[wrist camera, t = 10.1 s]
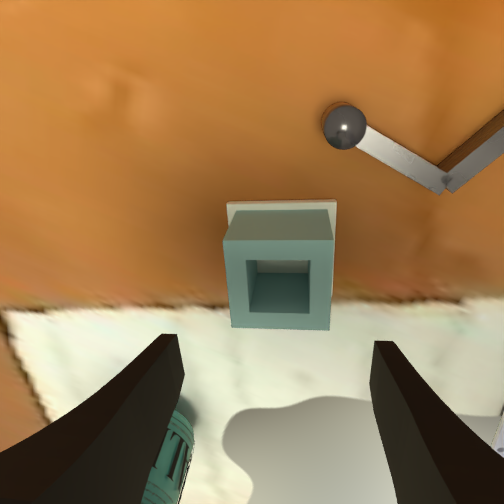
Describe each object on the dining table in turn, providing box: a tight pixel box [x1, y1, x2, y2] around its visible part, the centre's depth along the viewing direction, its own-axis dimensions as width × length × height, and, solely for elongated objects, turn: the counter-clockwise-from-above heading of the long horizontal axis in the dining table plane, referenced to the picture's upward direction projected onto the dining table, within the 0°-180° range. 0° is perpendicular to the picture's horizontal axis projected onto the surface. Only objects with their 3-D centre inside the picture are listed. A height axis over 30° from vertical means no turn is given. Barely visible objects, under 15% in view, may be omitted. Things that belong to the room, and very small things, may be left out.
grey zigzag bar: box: [321, 102, 504, 195], centre depth 16 cm, size 5×16×2 cm, turn 94°
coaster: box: [226, 199, 337, 296], centre depth 21 cm, size 6×6×1 cm
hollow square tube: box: [223, 209, 334, 330], centre depth 19 cm, size 5×5×4 cm
